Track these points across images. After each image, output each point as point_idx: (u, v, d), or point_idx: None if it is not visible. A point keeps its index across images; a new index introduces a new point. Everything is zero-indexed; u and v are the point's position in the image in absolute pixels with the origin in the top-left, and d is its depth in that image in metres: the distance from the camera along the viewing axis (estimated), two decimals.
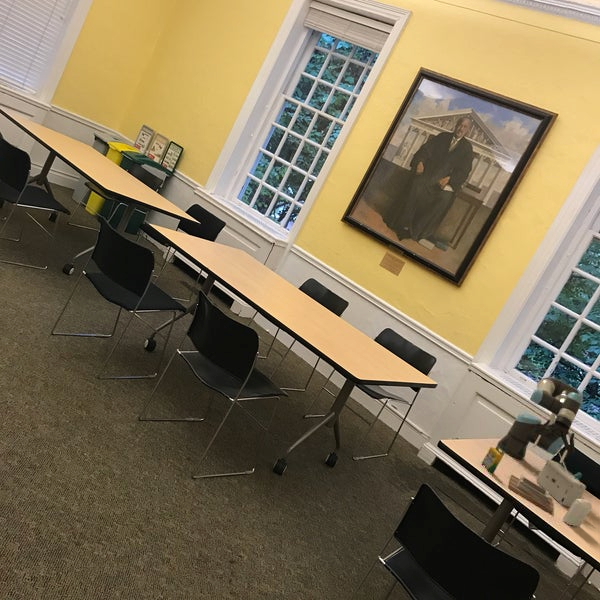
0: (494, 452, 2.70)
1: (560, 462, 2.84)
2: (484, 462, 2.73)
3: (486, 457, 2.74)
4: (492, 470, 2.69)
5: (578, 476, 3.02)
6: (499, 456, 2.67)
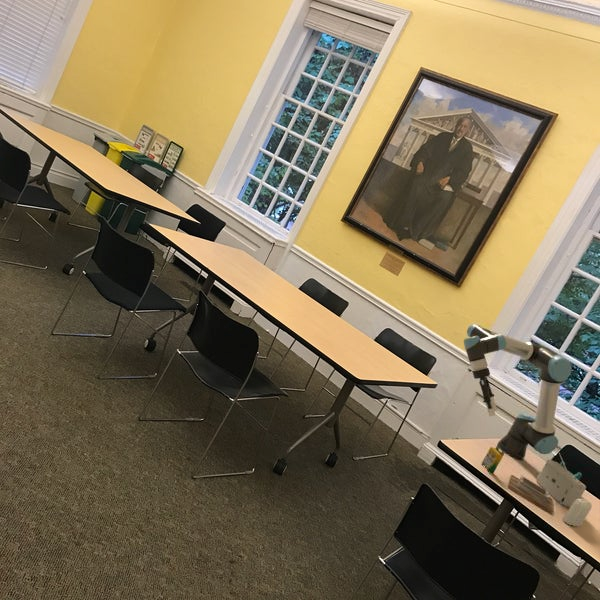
0: (494, 452, 2.70)
1: None
2: (484, 462, 2.73)
3: (486, 457, 2.74)
4: (492, 470, 2.69)
5: (578, 476, 3.02)
6: (499, 456, 2.67)
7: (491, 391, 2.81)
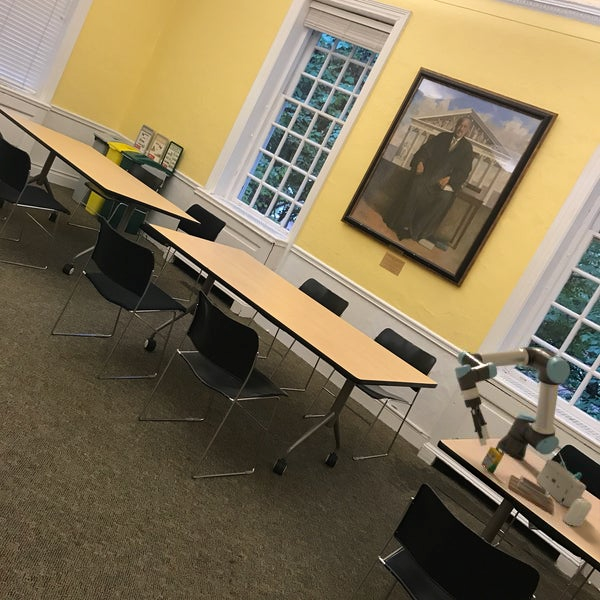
0: (494, 452, 2.70)
1: (486, 444, 2.66)
2: (484, 462, 2.73)
3: (486, 457, 2.74)
4: (492, 470, 2.69)
5: (578, 476, 3.02)
6: (499, 456, 2.67)
7: None
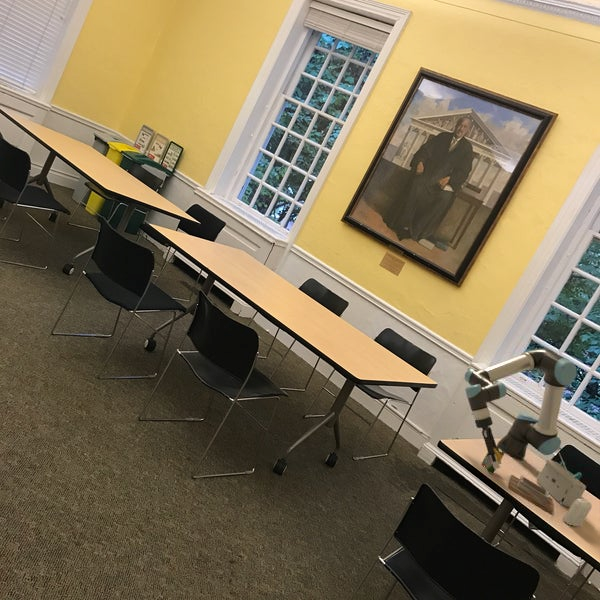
0: None
1: None
2: (484, 462, 2.73)
3: (486, 457, 2.74)
4: (492, 470, 2.69)
5: (578, 476, 3.02)
6: (499, 456, 2.67)
7: (495, 443, 2.77)
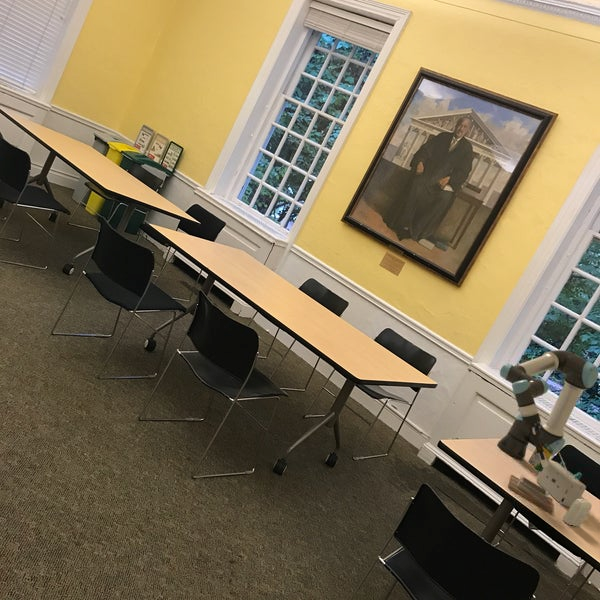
0: None
1: (547, 466, 2.58)
2: (532, 460, 2.65)
3: (533, 455, 2.65)
4: (540, 468, 2.60)
5: (578, 476, 3.02)
6: (548, 454, 2.59)
7: (542, 441, 2.68)
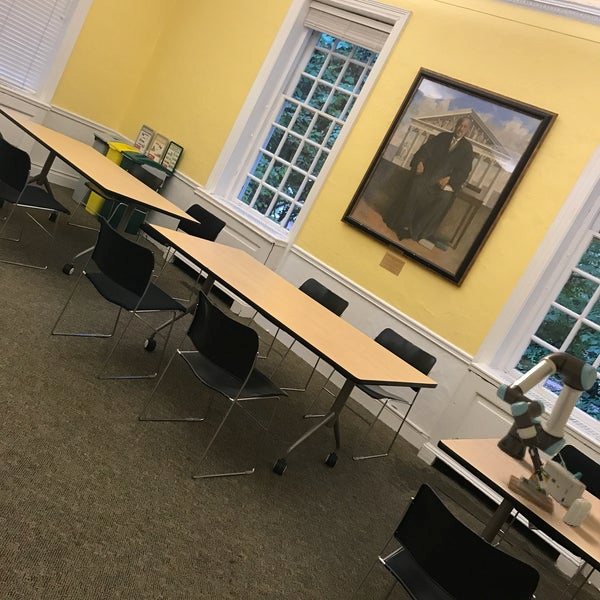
0: None
1: (546, 487, 2.57)
2: None
3: (530, 480, 2.66)
4: None
5: (578, 476, 3.02)
6: (545, 479, 2.60)
7: (540, 459, 2.71)
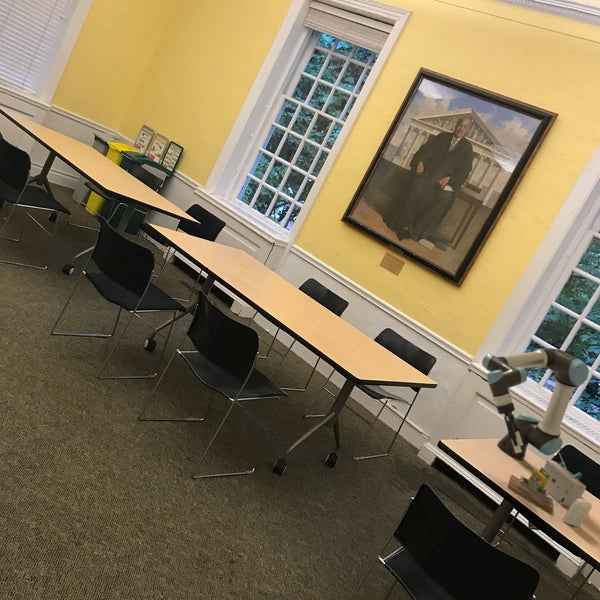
0: (539, 475, 2.62)
1: (520, 452, 2.60)
2: None
3: (530, 480, 2.66)
4: None
5: (578, 476, 3.02)
6: (545, 479, 2.60)
7: (516, 425, 2.75)
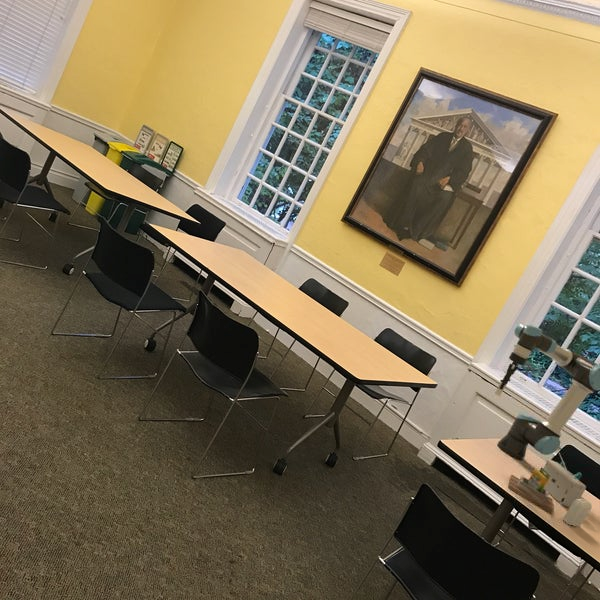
0: (539, 475, 2.62)
1: (499, 395, 2.78)
2: None
3: (530, 480, 2.66)
4: None
5: (578, 476, 3.02)
6: (545, 479, 2.60)
7: None
